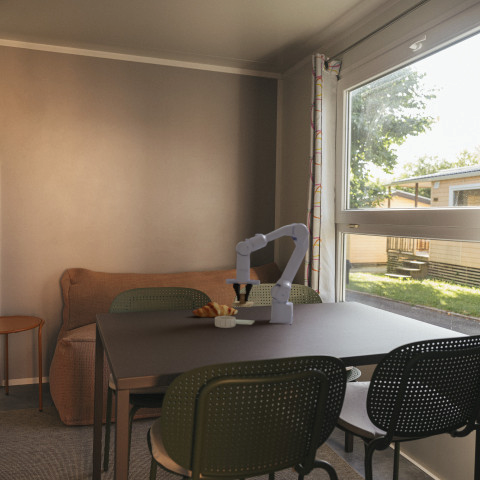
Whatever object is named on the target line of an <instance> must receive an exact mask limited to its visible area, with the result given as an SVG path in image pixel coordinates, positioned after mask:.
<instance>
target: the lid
mask: <svg viewBox="0 0 480 480" xmlns="http://www.w3.org/2000/svg"><path fill="white" fill-rule="evenodd" d="M245 296H246V292H244V293H243V292H240V296H239V301H237V300H235V301H233V302H232V303H231V304H230V305H231V307H244V308H251V307H252V306H253V305H254V301H247V302H245Z"/></svg>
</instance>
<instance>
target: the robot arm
mask: <svg viewBox="0 0 480 480" xmlns="http://www.w3.org/2000/svg"><path fill="white" fill-rule="evenodd" d="M309 235H310V231H309V229H308V227H307V225H306V224H304V223H301V222H299V223H295V222H294V223H290V224H288V225H283V226H281V227H280V228H277V229H275V230H273V231H270V232H269V233H266V234H263V233H255V234H254V236H252V237H250V238H245V239H244V241H239V242H238V243H237V244H236V245H235V252H236V268H235V269H236V272H235V273H236V278H226V279H225V284H226V285H231V284H232V289H233V290H234V293H235V296H236V299H237V300H236V301H239V296H240V293H241V285H245V287H244V289H245V291H244V292H245V294H246V296H245V302H249V296H250V294H251V290H252V288H253V286H261V280H259V279H251V278H250V276H251V275H250V273H251V258H250V257H251V253H253V252H256V251H257V250H260V249H262V248H264V247H267V244H268V242H271V241H274V240H277V239H279V238H282V237H283V236H286V237H287V236H288V237H289V236H290V238H291V239H292V240H293V243H294V245H295V247H294V249H293V252H292V254H291V256H290V257H289V258H290V259H289V260H288V262H287V264H286V266H285V268H284V270H283V273H282V274H281V276H280V278H279V279H278V280H277V281H276V283H275V284H274V285H273V286H272V287H271V289H270V295H271V297H272V299H271V310H270V311H271V315H270V317H271V319H270V320H269V323H270V324H271V323H272V324H284V325H285V324H286V325H287V324H288V325H291V324H292V323H293V322H294V303H293V302H291V301H289V299H290V295H291V290H292V283H293V281H294V278H295V277H296V274H297V273H298V271H299V268H300V266H301V265H302V262H303V260H304V257H305V255H306V254H307V251H309V250H308V249H309V247H310V245H309V244H310V240H309Z"/></svg>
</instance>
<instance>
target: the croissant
mask: <svg viewBox="0 0 480 480" xmlns="http://www.w3.org/2000/svg"><path fill="white" fill-rule="evenodd" d="M192 314H193V315H195V316H196V317H199V318H215V317H217V316H235V315H237V314H238V309H236V308H234V307H233V306H231V307H229V306H227V305H226V304H218V303H217V302H215V301H214V302H213V301H210V302H208V303H207V304H206V305H202V307H200V308H196V309H195V310H192Z"/></svg>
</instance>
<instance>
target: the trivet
mask: <svg viewBox="0 0 480 480" xmlns="http://www.w3.org/2000/svg"><path fill="white" fill-rule="evenodd" d="M254 323H255V320H254V319H253V320H252V319H251V320H250V319H236V324H235V325H253V324H254Z"/></svg>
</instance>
